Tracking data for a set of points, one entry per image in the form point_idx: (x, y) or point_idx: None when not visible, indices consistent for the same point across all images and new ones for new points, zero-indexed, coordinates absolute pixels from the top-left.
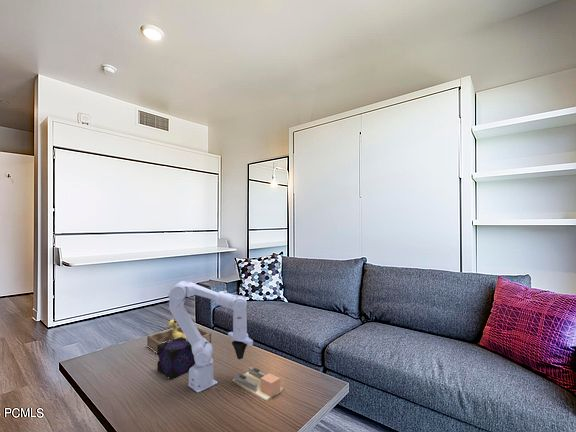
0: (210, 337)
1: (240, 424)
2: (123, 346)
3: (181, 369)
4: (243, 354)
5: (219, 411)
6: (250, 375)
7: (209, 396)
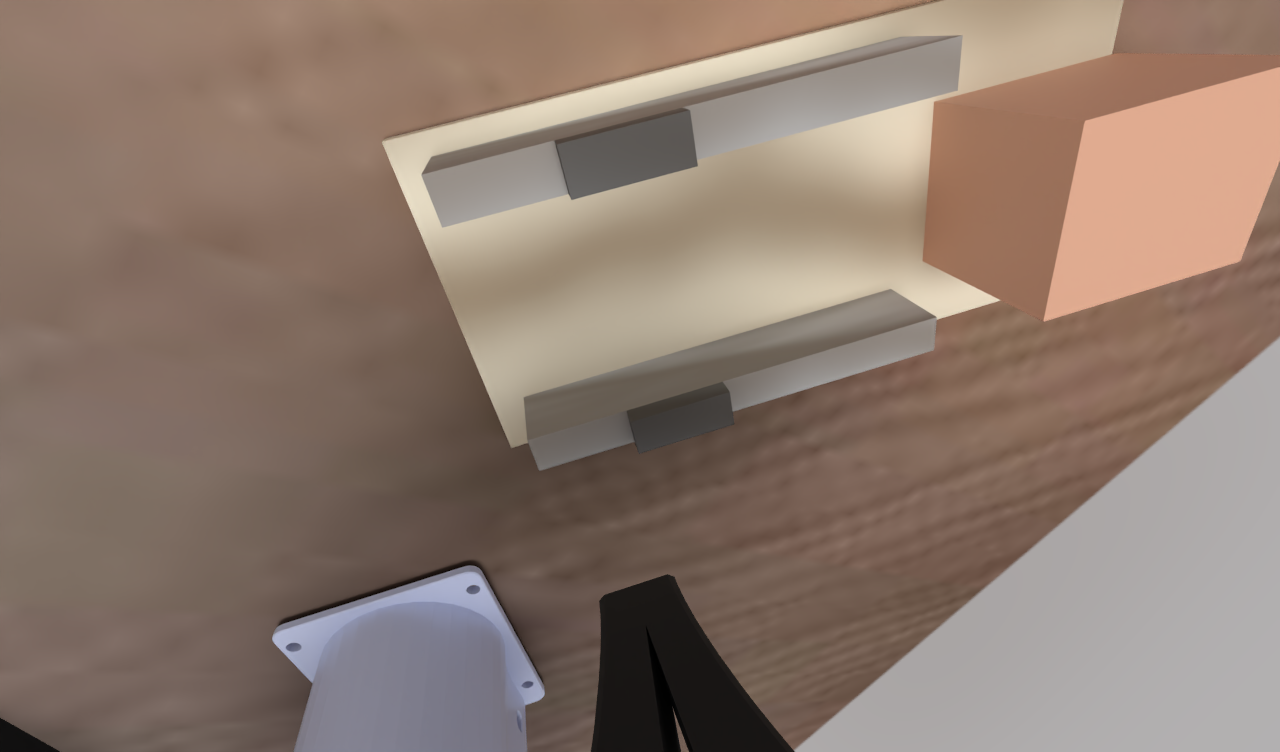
0: None
1: (1045, 517)
2: None
3: None
4: (702, 636)
5: (850, 591)
6: (535, 209)
7: None
